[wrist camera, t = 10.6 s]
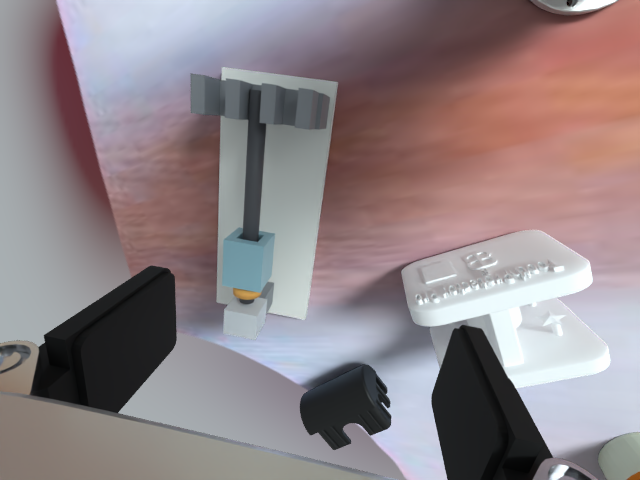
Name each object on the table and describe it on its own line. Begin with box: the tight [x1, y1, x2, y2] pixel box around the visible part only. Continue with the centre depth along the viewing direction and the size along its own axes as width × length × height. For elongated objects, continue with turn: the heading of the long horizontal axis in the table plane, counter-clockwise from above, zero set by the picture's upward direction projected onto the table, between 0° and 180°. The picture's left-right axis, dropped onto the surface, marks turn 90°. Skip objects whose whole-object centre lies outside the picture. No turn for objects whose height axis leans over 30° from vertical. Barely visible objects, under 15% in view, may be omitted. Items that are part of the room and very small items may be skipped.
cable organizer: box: [401, 230, 610, 388], centre depth 34 cm, size 15×11×12 cm
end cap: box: [300, 364, 391, 450], centre depth 44 cm, size 10×7×7 cm
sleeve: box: [222, 227, 275, 293], centre depth 34 cm, size 5×4×4 cm
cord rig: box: [191, 67, 338, 340], centre depth 35 cm, size 28×12×9 cm, turn 173°
